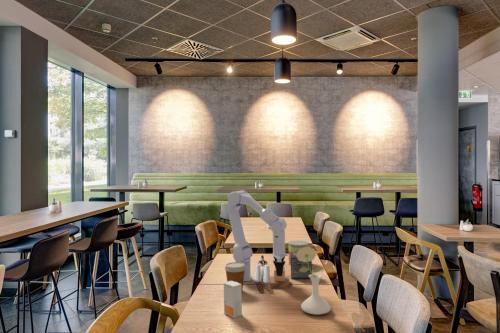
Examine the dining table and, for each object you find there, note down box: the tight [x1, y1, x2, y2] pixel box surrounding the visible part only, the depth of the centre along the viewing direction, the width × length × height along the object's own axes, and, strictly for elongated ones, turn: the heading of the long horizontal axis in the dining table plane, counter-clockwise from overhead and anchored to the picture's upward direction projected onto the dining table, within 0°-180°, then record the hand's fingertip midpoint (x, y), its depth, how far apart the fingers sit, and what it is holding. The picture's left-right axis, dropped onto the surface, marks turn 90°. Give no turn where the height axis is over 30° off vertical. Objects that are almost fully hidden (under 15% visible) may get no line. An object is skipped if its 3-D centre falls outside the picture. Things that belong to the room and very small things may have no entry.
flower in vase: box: [296, 246, 332, 316], centre depth 139 cm, size 13×11×25 cm
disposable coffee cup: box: [224, 261, 246, 291], centre depth 163 cm, size 10×10×12 cm
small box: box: [290, 255, 313, 280], centre depth 181 cm, size 11×6×10 cm, turn 84°
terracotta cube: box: [273, 267, 286, 281], centre depth 170 cm, size 5×5×5 cm
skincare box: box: [223, 281, 243, 319], centre depth 138 cm, size 6×4×12 cm
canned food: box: [288, 240, 309, 266], centre depth 205 cm, size 11×11×12 cm
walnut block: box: [269, 276, 291, 289], centre depth 170 cm, size 9×9×3 cm
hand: (279, 273), depth 170 cm, fingers open, 7 cm apart
